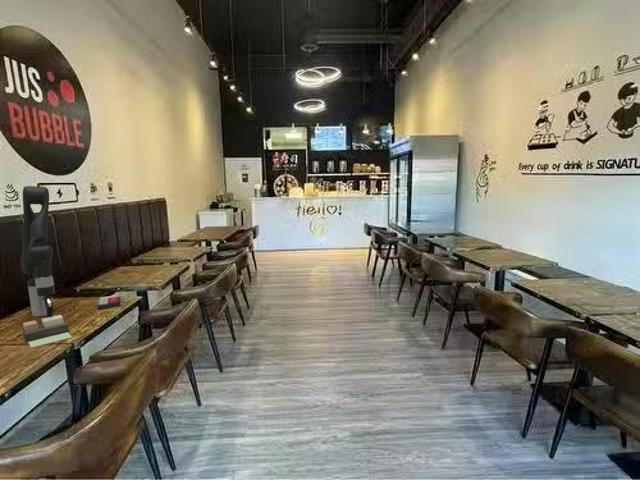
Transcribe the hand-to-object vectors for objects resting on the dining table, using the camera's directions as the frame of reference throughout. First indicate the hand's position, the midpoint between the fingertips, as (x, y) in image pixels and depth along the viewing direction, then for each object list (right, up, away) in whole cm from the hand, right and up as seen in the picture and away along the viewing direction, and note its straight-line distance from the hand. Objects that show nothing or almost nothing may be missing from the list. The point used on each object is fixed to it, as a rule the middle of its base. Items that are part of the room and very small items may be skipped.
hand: (50, 318), depth 205 cm
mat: (+11, -7, -16) cm, 21 cm away
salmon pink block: (-1, -3, -11) cm, 12 cm away
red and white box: (+11, 0, +36) cm, 38 cm away
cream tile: (+5, -2, -5) cm, 8 cm away
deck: (+3, -6, -8) cm, 11 cm away
